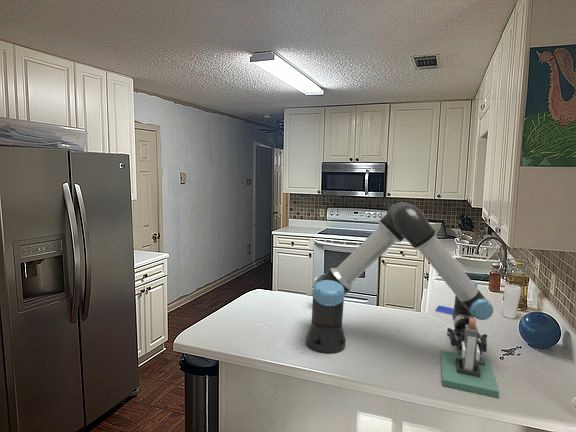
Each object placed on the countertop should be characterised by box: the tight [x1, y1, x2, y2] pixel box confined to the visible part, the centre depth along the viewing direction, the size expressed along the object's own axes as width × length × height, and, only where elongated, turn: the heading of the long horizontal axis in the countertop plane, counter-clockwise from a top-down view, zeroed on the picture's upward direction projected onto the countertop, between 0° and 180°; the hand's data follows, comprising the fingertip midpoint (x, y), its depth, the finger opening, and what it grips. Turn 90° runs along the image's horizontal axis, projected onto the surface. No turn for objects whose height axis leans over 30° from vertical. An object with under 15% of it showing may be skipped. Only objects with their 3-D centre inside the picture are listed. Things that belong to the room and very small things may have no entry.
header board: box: [440, 349, 500, 398], centre depth 132 cm, size 22×16×3 cm
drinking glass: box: [502, 283, 522, 320], centre depth 186 cm, size 7×7×15 cm
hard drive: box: [434, 305, 454, 316], centre depth 190 cm, size 2×8×12 cm
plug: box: [461, 318, 479, 371], centre depth 131 cm, size 5×4×19 cm, turn 160°
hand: (471, 355), depth 126 cm, fingers closed on plug, 3 cm apart
